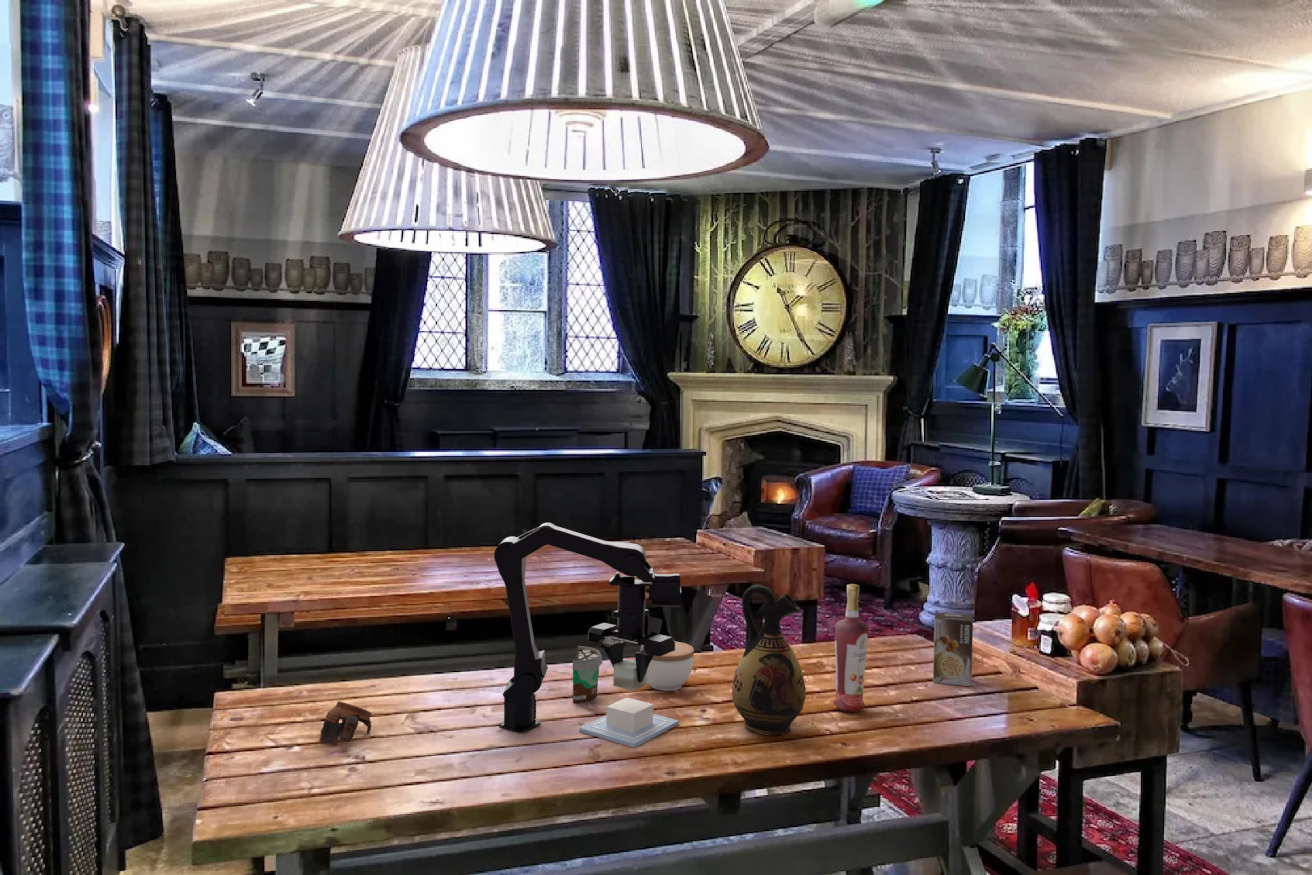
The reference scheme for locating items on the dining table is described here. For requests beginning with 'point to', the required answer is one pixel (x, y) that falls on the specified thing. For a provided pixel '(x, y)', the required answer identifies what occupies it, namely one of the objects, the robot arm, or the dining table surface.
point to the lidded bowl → (671, 668)
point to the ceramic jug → (768, 669)
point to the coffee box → (953, 649)
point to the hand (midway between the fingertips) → (630, 679)
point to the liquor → (850, 655)
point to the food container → (586, 674)
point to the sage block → (627, 675)
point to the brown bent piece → (343, 723)
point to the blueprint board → (627, 740)
